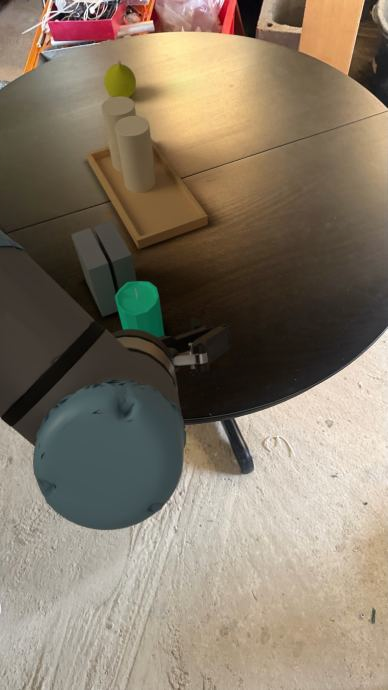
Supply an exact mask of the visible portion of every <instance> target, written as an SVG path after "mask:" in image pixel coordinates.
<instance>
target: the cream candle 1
mask: <svg viewBox="0 0 388 690" xmlns="http://www.w3.org/2000/svg"><path fill="white" fill-rule="evenodd" d="M101 113H102V118H103V122H104V129H105V134H106V137H107V143H108V147H109V149H110V154H111V159H112V164H113V167H114V168H115V169H116V170H117V171H120V172H123V170H122V165H121V159H120V153H119V148H118V142H117V136H116V131H115V125H116V123H117V122H118V121H119V120H120V119H122V118H124V117H128V116H137V112H136V105H135V102H134V100H133V99H131V97H129V98H127V97H110V98H108V99H106V100H104V101H103V102H102V104H101Z"/></svg>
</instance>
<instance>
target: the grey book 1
mask: <svg viewBox="0 0 388 690" xmlns="http://www.w3.org/2000/svg"><path fill="white" fill-rule="evenodd" d="M70 236H71V239H72V242H73V245H74V248H75V251H76V254H77V257H78V260H79V263H80V266H81V269H82V272H83V276H84V278H85V282H86V284H87V286H88V288H89V290H90V293H91V295H92V298H93V299H94V302H95V304H96V306H97V308H98V309H99V312H100V314H101V316H102V317H103V318H105V317H106V316H109V315H111V314H115V313H117V312H118V308H117V304H116V300H115V295H116V292H115V288H114V284H113V280H112V276H111V272H110V268H109V264H108V262H107V260H106V258H105V256H104V254H103V252H102V250H101V248H100V246H99V243H98V240H97V237H95V234H94V233H93V231H92V229H91V227H89V228H86V229H83V230H79V231H76V232H73V233H70Z"/></svg>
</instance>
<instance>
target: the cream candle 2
mask: <svg viewBox="0 0 388 690" xmlns="http://www.w3.org/2000/svg"><path fill="white" fill-rule="evenodd" d="M150 126H151V125H150V122H149V120H148V119H147V118H145V117H143V116H139V115H136V116H128V117H124V118H122V119H120V120H119V121H118V122H117V123H116V125H115V131H116V136H117V142H118V148H119V153H120V159H121V165H122V170H123V176H124V182H125V186H126V188H127V189H128V190H129V191H131V192H134V193H144V192H147V191H150V190H151V189H152V188H153V187H154V186H155V184H156V179H155V170H154V161H153V152H152V143H151V139H152V136H151V127H150Z"/></svg>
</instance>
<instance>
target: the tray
mask: <svg viewBox="0 0 388 690" xmlns="http://www.w3.org/2000/svg"><path fill="white" fill-rule="evenodd" d="M151 143H152V152H153V161H154V170H155V179H156V184H155V186H154V187H153V188H152V189H151V190H150V191H147V192H144V193H134V192H131V191H129V190H128V189H127V188H126V186H125V182H124V176H123V172H120V171H117V170H116V169H115V168H114V167H113V164H112V159H111V154H110V149H109V146H105V147H101V148H99V149H96V150H92V151H88V152H86V157H87V162H88V163H89V165H90V167H91V169H92V171H93V172H94V174H95V176H96V178H97V179H98V181H99V183H100V185H101V186H102V188H103V190H104V192H105V193H106V195H107V197H108V198H109V200H110V202H111V204H112V206H113V208H114V209H115V211H116V212H117V214H118V216H119V217H120V219H121V221H122V223H123V225H124V227H125V228H126V230H127V231H128V233H129V235H130V237H131V239H132V240H133V242H134V243H135V245H136V247H137V249H138V250H140V249H143V248H146V247H150V246H151V245H154V244H158V243H160V242H163V241H166V240H169V239H171V238H174V237H178V236H180V235H182V234H186V233H189V232H191V231H194V230H196V229H199V228H203V227H205V226H208V225H209V221H208V220H209V216H208V214H207V213H206V211H205V210H204V209H203V207H202V206H201V204H200V203H199V202H198V200H197V199H196V197H195V196H194V194H192V192H191V191H190V189H189V188H188V186H187V185H186V184H185V183H184V180H182V178H181V177H180V175H179V174H178V173H177V171H176V170H175V169H174V168H173V166H172V165H171V163H170V162H169V160H168V159H167V158H166V156H165V155H164V154H163V152H162V151H161V150H160V147H158V145H157V144H156V143H155V141H154V140H153V139H152V138H151Z"/></svg>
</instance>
